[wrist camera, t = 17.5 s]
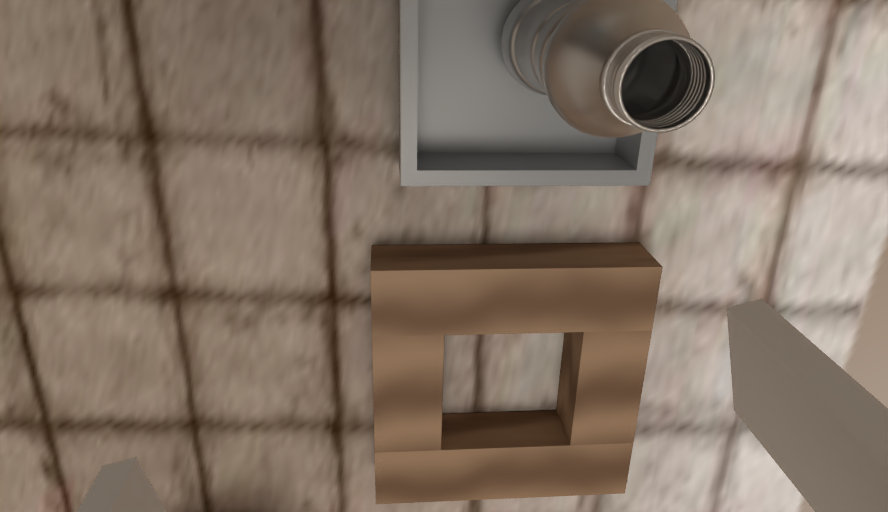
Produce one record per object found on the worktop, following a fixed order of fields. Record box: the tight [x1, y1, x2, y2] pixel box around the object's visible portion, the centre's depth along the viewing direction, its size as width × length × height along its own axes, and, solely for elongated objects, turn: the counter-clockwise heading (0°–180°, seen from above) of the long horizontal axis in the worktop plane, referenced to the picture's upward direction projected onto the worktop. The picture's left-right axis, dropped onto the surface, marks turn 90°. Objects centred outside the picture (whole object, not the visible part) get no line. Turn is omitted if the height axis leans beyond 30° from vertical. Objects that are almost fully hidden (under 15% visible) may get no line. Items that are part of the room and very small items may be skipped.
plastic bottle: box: [501, 0, 715, 138], centre depth 34 cm, size 6×7×20 cm
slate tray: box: [398, 0, 677, 186], centre depth 41 cm, size 16×16×5 cm
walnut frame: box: [371, 243, 662, 504], centre depth 51 cm, size 20×20×4 cm
